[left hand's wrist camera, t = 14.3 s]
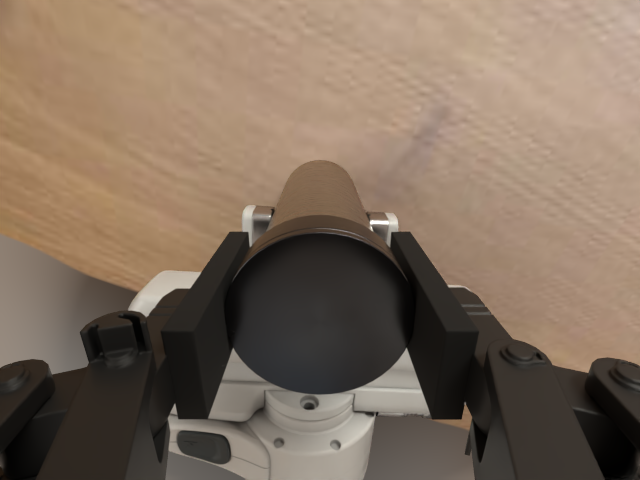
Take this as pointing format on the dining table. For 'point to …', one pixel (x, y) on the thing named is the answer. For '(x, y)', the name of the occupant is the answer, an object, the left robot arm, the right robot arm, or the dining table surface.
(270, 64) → the dining table surface
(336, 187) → the brown canister
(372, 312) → the lid
